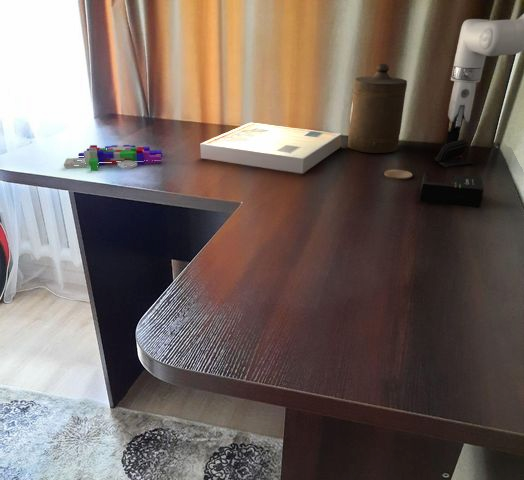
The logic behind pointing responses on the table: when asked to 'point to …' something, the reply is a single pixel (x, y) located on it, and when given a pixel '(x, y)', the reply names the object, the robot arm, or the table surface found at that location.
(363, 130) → the wooden container
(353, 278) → the table surface
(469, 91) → the robot arm
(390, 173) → the coaster
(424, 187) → the battery charger
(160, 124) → the table surface
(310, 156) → the flat white box
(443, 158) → the webcam
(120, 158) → the building block set
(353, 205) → the table surface
